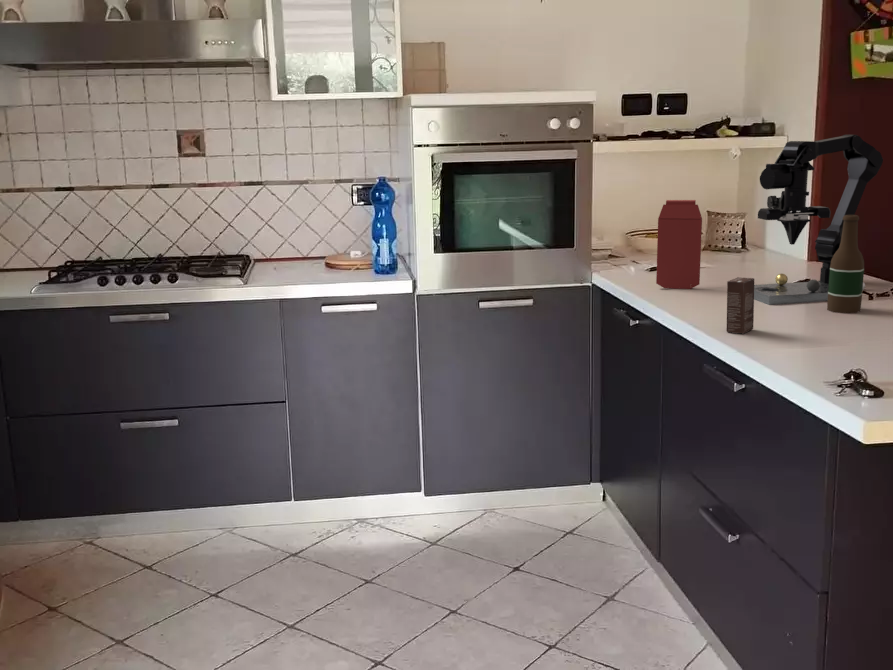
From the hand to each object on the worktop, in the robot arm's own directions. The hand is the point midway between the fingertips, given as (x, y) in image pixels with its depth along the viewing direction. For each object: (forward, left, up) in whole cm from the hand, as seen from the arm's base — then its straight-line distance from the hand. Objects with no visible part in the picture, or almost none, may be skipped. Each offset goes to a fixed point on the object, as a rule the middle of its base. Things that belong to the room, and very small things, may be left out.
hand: (792, 244), depth 251 cm
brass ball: (+5, +4, -9) cm, 11 cm away
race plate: (+4, +10, -13) cm, 17 cm away
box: (+36, +43, -13) cm, 58 cm away
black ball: (+2, +15, -9) cm, 18 cm away
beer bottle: (+2, +30, -13) cm, 33 cm away
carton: (+27, -13, -13) cm, 33 cm away
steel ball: (-17, +7, -11) cm, 21 cm away
